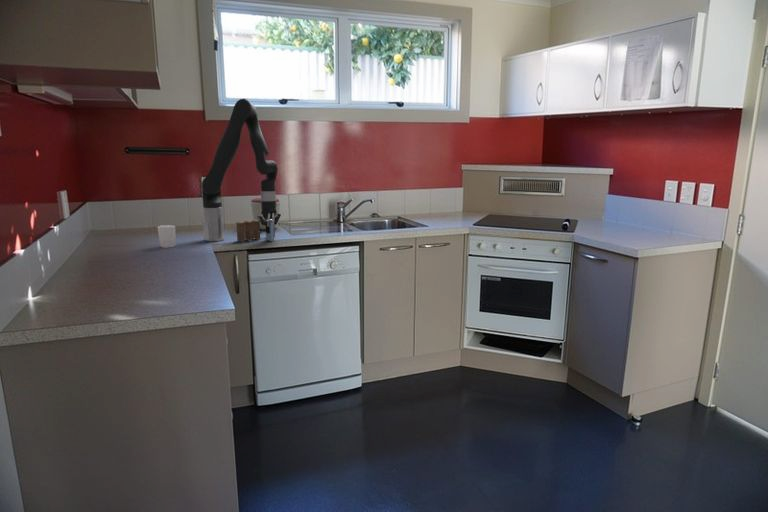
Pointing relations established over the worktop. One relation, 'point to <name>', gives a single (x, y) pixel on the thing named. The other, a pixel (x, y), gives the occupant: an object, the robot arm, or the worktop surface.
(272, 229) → the domino
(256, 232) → the domino
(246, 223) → the domino
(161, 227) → the white cup
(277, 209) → the canister
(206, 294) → the worktop surface
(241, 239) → the domino
